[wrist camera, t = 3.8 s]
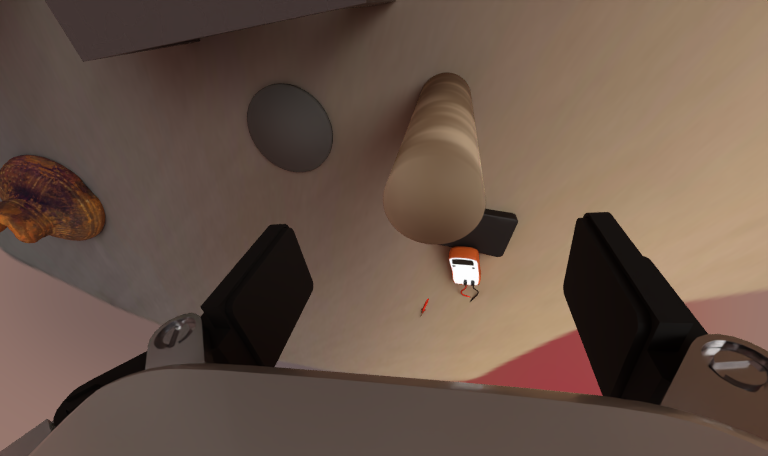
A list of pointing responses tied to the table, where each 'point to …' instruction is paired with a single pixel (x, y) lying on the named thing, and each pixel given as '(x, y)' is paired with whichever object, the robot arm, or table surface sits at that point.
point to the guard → (172, 20)
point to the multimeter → (479, 247)
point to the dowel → (438, 167)
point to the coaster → (290, 127)
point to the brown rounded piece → (46, 201)
